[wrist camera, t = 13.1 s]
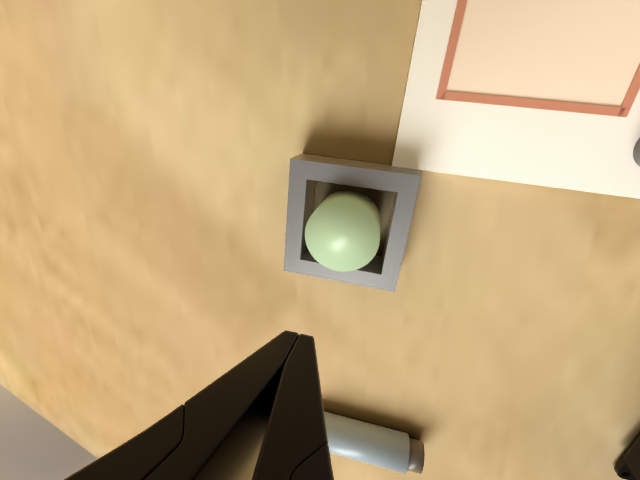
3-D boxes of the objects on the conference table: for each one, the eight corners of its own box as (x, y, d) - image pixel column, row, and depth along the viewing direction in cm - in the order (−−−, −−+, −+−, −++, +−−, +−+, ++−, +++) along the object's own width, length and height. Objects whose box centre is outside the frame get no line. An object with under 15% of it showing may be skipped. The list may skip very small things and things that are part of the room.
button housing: (417, 168, 18) (421, 176, 16) (394, 272, 21) (395, 292, 19) (302, 153, 19) (290, 158, 17) (294, 254, 22) (283, 270, 20)
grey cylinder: (420, 487, 24) (415, 461, 26) (427, 452, 24) (421, 429, 26) (306, 454, 25) (313, 433, 28) (312, 421, 25) (318, 403, 28)
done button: (386, 195, 18) (386, 207, 15) (375, 258, 19) (373, 277, 17) (318, 185, 18) (307, 195, 16) (312, 247, 20) (302, 264, 17)
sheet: (890, -152, 11) (916, -166, 10) (684, 203, 16) (694, 206, 15) (448, -142, 13) (451, -153, 13) (391, 165, 18) (391, 166, 18)
